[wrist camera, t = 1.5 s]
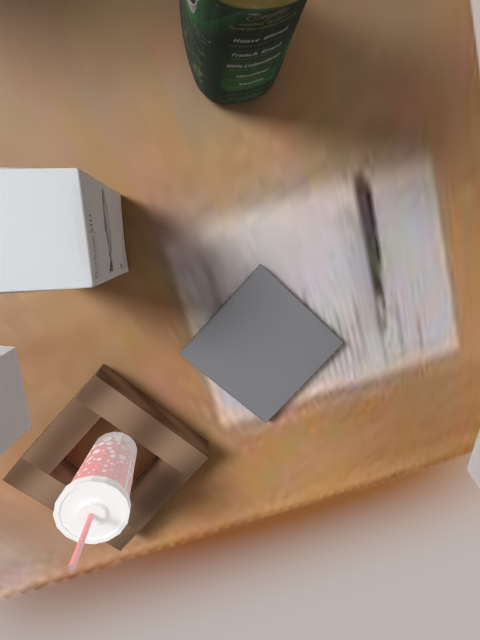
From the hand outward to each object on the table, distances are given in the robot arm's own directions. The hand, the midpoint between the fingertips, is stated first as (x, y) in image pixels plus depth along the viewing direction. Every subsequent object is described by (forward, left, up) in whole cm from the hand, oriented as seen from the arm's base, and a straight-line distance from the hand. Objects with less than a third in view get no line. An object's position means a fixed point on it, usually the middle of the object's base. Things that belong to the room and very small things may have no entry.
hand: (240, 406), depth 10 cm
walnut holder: (+4, -20, -26) cm, 33 cm away
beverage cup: (+4, -20, -27) cm, 34 cm away
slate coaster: (+8, -1, -26) cm, 28 cm away
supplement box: (-12, -4, -27) cm, 29 cm away
